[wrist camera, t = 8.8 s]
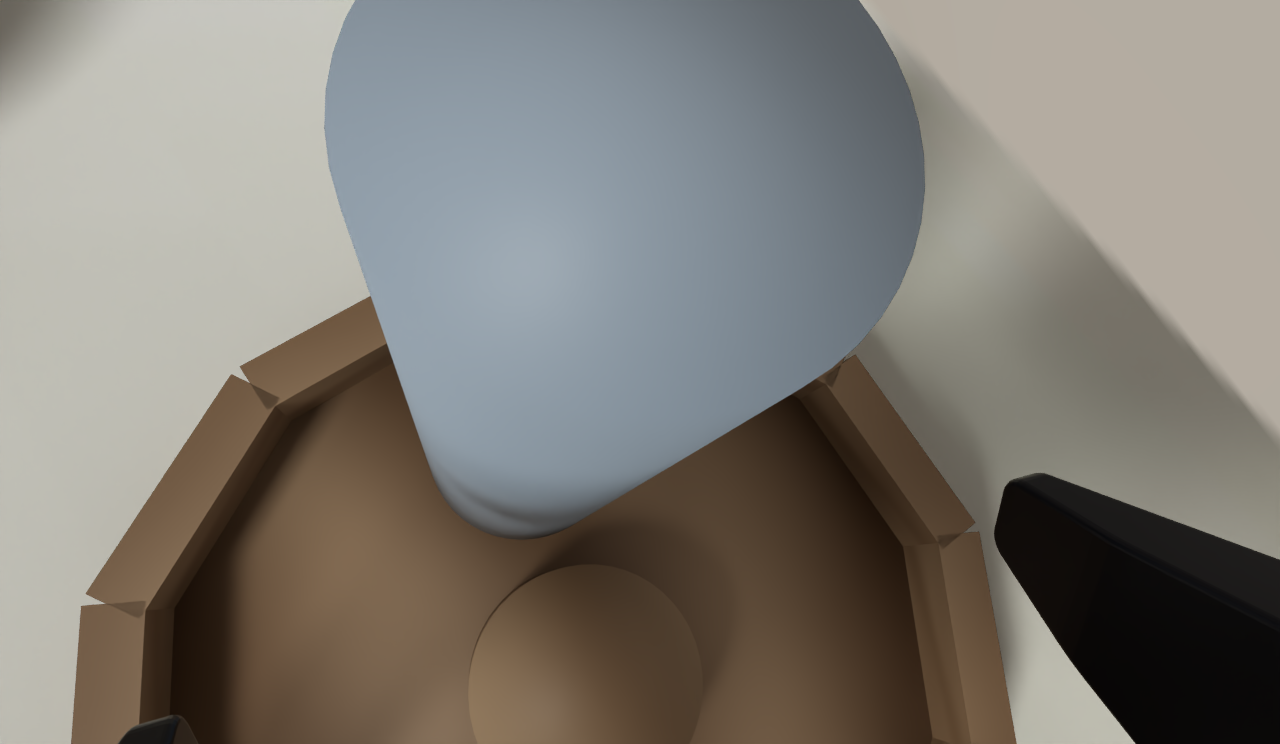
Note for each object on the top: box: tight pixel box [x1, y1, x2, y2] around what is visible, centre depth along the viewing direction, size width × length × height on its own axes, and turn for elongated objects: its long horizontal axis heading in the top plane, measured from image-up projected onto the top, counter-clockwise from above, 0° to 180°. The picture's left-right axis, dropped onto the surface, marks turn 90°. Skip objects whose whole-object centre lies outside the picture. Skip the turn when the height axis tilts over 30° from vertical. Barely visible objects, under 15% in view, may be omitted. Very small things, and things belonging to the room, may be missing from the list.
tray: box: [71, 296, 1017, 744], centre depth 17 cm, size 17×17×2 cm
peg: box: [324, 0, 925, 540], centre depth 12 cm, size 4×4×13 cm
